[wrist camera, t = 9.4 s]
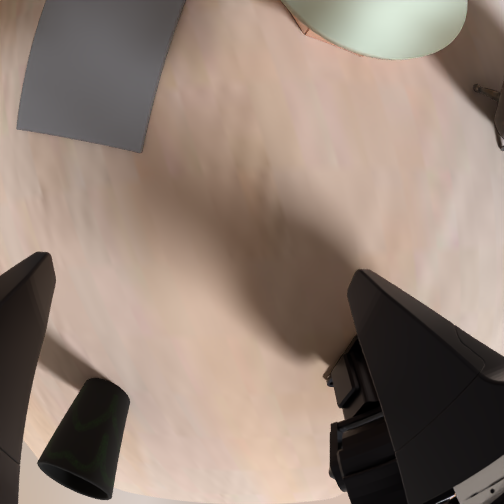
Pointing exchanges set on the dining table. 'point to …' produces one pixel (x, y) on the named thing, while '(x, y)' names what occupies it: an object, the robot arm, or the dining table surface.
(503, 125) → the alarm clock
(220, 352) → the dining table surface
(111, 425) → the cup
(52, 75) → the mat
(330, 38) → the wooden peg on disc
